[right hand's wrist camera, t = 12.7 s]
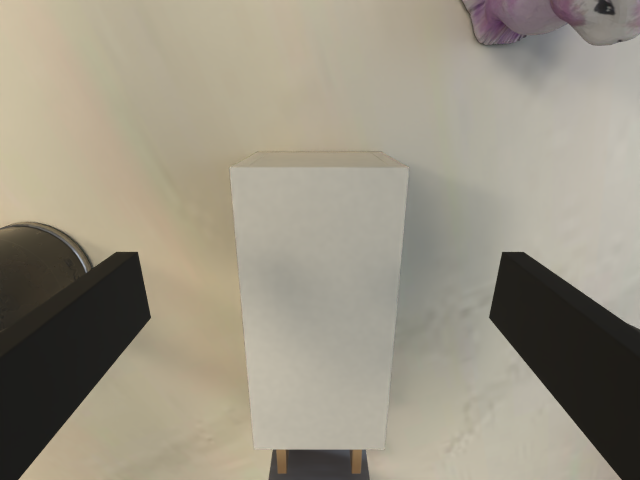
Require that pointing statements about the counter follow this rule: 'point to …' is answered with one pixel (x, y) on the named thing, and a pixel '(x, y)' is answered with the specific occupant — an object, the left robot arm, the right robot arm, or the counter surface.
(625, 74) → the counter surface
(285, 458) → the drawer
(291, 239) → the cabinet
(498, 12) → the figurine
